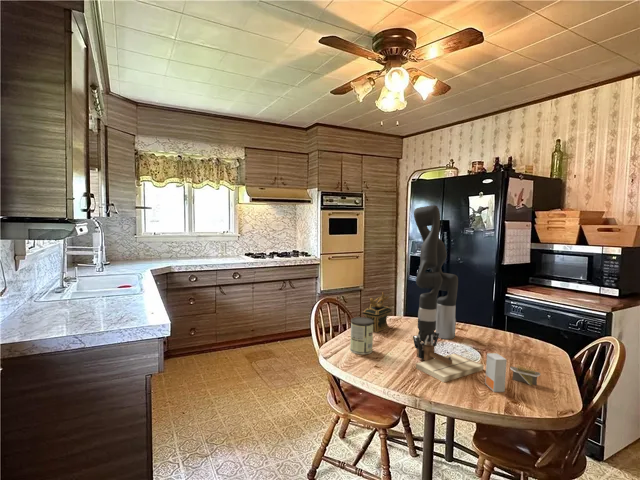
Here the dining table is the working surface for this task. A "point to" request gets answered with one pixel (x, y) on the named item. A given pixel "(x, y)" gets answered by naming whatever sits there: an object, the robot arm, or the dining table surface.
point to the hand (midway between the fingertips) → (425, 357)
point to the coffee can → (361, 335)
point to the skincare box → (495, 372)
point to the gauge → (433, 354)
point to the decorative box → (378, 313)
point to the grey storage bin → (525, 375)
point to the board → (449, 367)
